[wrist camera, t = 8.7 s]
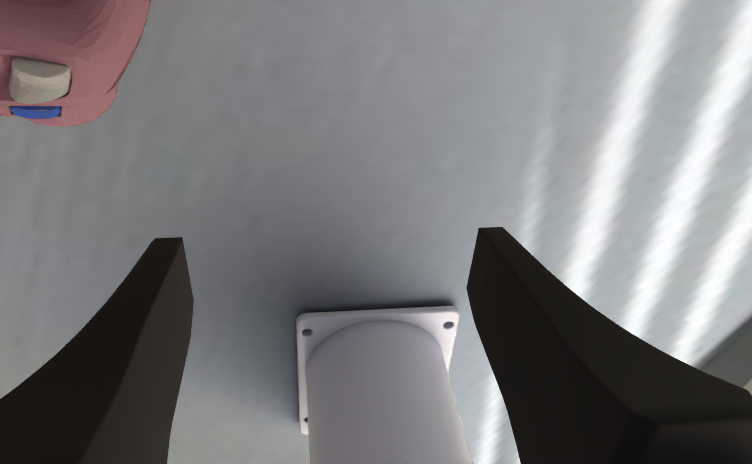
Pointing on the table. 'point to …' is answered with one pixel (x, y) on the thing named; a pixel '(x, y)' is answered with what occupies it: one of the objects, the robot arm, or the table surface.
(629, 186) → the table surface
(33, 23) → the video game controller
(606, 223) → the table surface
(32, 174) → the table surface
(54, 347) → the table surface
